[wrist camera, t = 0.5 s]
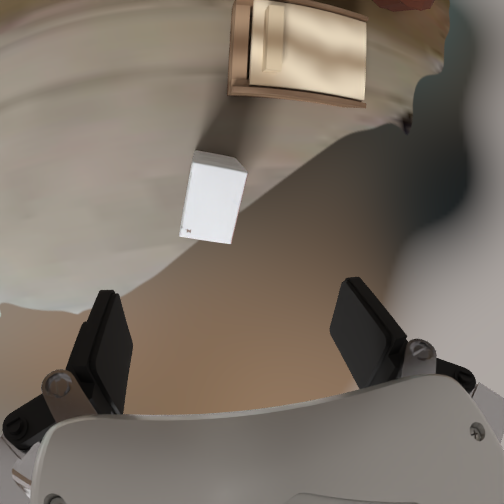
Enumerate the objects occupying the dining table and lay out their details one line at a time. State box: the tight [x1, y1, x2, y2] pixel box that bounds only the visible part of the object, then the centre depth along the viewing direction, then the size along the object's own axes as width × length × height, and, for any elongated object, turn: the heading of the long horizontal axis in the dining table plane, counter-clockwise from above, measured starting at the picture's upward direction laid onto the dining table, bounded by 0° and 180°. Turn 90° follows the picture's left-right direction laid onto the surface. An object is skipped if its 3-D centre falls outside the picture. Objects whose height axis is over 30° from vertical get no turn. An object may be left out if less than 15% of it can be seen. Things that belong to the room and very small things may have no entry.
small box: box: [179, 150, 248, 244], centre depth 32 cm, size 8×6×10 cm
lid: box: [249, 0, 366, 101], centre depth 24 cm, size 11×14×3 cm
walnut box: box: [227, 0, 368, 108], centre depth 27 cm, size 13×16×6 cm
